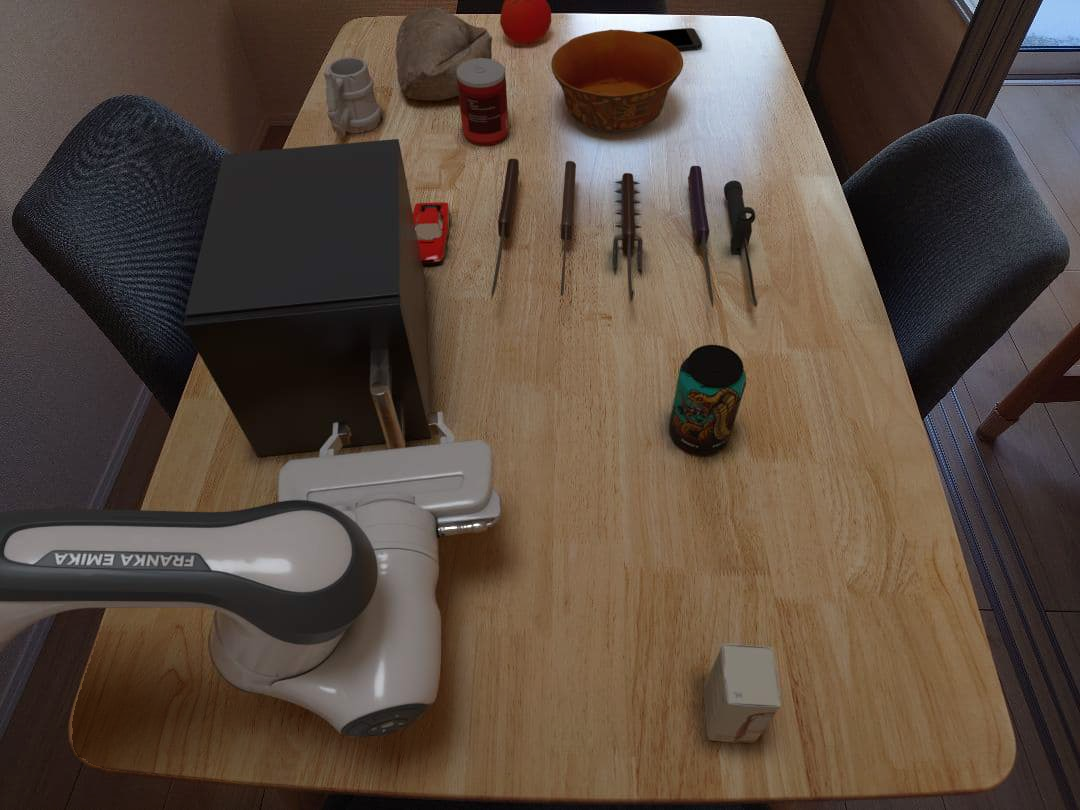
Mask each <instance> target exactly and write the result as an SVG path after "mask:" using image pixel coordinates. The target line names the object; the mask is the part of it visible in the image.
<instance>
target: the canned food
mask: <svg viewBox="0 0 1080 810" xmlns="http://www.w3.org/2000/svg"><path fill="white" fill-rule="evenodd" d="M456 72H457V85H458V94H459V95H458V102H459V109H460V118H461V125H462V127H461V128H462V132H463V133H462V134H463V135H464V137H465V139H466V140H467V141H468V142H469V143H471V144H473V145H476V146H482V147H483V146H484V147H489V146H494V145H497V144H500V143H501V142H503V141H504V140H505V139H506V138H507V136H508V133H509V110H508V97H507V96H508V92H507V77H506V70H505V66H504V65H503V63H501V62H500V61H498V60H495V59H487V58H476V59H471V60H468V61H466V62H463V63H462V64H461V65H460V66H459V67H458V68H457V71H456Z"/></svg>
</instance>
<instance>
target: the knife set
mask: <svg viewBox="0 0 1080 810" xmlns="http://www.w3.org/2000/svg"><path fill="white" fill-rule="evenodd" d="M564 166H565V167H564V179H563V180H564V181H563V194H562V206H561V220H560V239H561V240H562V241H564V242H563V255H562V266H561V280H560V281H561V282H560V283H561V284H560V296H561V297H563V296H564V289H565V288H564V287H565V274H566V260H567V258H566V257H567V243H568V241H571V240H572V238H573V226H574V225H573V224H574V208H575V192H576V191H575V190H576V176H577V175H576V174H577V173H576V172H577V164H576V162H574V161H572V160H566V162H565V165H564ZM702 172H703V171H702V167H701V166H700V165H691V166H690V167H689V173H688V176H687V185H688V195H689V206H690V208H689V209H690V218H691V226H692V232H693V239H694V244H695V246H698V247H699V248H700V252H702V258H703V266H704V272H705V278H706V286H707V290H708V291H707V292H708V296H709V301H710V304H711V307H712V308H713V307H714V295H713V286H712V278H711V272H710V271H711V270H710V263H709V257H708V248H707V244H708V239H709V235H710V226H709V220H708V216H707V210H706V209H707V208H706V201H705V193H704V182H703V181H704V180H703V173H702ZM519 176H520V163H519V159H517V158H508V160H507V165H506V172H505V179H504V185H503V191H502V199H501V205H500V210H499V213H498V219H497V228H498V229H497V230H498V231H497V233H498V237H500V238H499V246H498V252H497V258H496V263H495V271H494V275H493V281H492V288H491V297H490V301H491V300H492V299H493V297H494V295H495V292H496V289H497V283H498V279H499V278H498V277H499V273H500V267H501V261H502V256H503V249H504V243H505V239H508V238H510V236H511V232H512V228H513V227H512V226H513V221H514V214H515V207H516V198H517V191H518V183H519ZM614 183H615V184H619V185H621V188H620V190H616V191H614V193H617V194H621V199H620V200H619V199H618V200H614V201H613V202H615V203H618V204H620V205H621V211H618V212H614V214H615V215H619V216H621V224H616V225H615V227H616V228H619V229H621V235H616V236H615V237H614V238H613V241H612V242H613V243H612V244H613V245H612V268H613V269H614V270H616V269H617V267H618V246H619V241H621V249H622V251H623V252H626V257H627V285H628V287H627V288H628V294H629V297H628V298H629V301H630V303H632V302H633V299H634V295H635V291H634V290H633V285H632V282H633V281H632V259H631V258H632V257H631V253H632V252H633V251H634V248H635V242H637V252H636V253H637V254H636V255H637V269H638V270H639V271H642V270H643V238H642V237H641V236H637V235H636V229H640V228H642V226H639V225H636V223H635V222H636V221H635V219H636V218H635V217H636V216H641V215H643V214H642V213H639V212H635V205H637V204H641V203H642V202H641V201H637V200H635V195H638V194H641V192H640V191H636V190H635V188H634V187H635V185H640V184H641V182H639V181H634V174H633V173H631V172H625V173H623V174H622V176H621V180H617V181H614ZM723 195H724V198H725V200H726V205H727V210H728V211H727V212H728V217H729V223H730V228H731V238H730V253H731V254H732V255H733V254H734V255H735V254H736V255H740V256H741V261H742V266H743V271H744V279H745V285H746V291H747V297H748V300H749V304H750V305H751V306H753V307H754V308H757V307H758V301H757V297H756V291H755V285H754V277H753V270H752V265H751V259H750V254H749V248H748V247H749V244H750V240H751V236H752V232H753V226H752V224H753V223H754V222H755V221H756V212H755V210H754V208H753V207H750V206H745V203H744V197H743V196H744V191H743V186H742V183H741V182H740V181H739V180H734V179H733V180H730V181H727V182H726V183H725V184H724V186H723ZM747 214H750V216H749V217H747Z"/></svg>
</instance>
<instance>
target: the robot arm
mask: <svg viewBox="0 0 1080 810" xmlns="http://www.w3.org/2000/svg"><path fill="white" fill-rule="evenodd" d="M444 416H445V415H444V412H443V411H442V410H441V411H432V412H431V411H430V413H428V418H429V419H428V426H429V429H430V434H431V436H439V437H440V443H436V444H435V443H434V444H427V445H425V444H424V445H417V446H416V445H415V446H409V447H405V448H398V449H380V450H372V451H363V452H353V453H344V454H343V453H342V454H339V452H340V451H341V450H342V449H343V447H342V446H343V445H347V444H351V437H350V436H351V434H352V432H351V427H350V426H349V422H337V423H333V433H332V436H330V438H329V439H328V440H327V441H326V443H325V444H324V445H323V446H322V448H321V449H320V450H319V453H318V454H319V455H318V456H316V457H315V456H314V457H308V458H297V459H289V460H288V461H287V462H286V463H284V464H283V466H282V467H281V468H280V469H279V472H278V477H277V499H278V501H277V502H276V501H275V502H272V503H268V504H263V505H259V506H254V507H250V508H245V509H239V510H238V509H237V510H230V511H179V510H177V511H176V510H148V509H147V510H144V509H143V510H142V509H109V508H107V509H106V508H60V507H59V508H57V507H56V508H51V507H50V508H25V509H13V510H5V511H4V510H3V511H0V653H1V652H3V651H4V650H5V649H6V648H7V647H8V646H9V645H10V644H11V643H12V642H13V641H14V639H16V637H17V636H19V635H20V634H21V633H22V632H24V631H25V630H27V628H29V627H31V626H33V625H34V624H36V623H37V622H40V621H42V620H44V619H46V618H48V617H51V616H54V615H58V614H60V613H65V612H68V611H74V610H81V609H207V610H212V611H214V613H213V616H212V621H211V625H210V628H209V633H208V639H207V640H208V652H209V656H210V659H211V662H212V665H213V666H214V668H215V670H216V671H217V672H218V674H219V675H220V676H221V677H222V679H223V680H225V682H226V683H227V684H229V685H230V686H232V687H234V688H235V689H237V690H239V691H242V692H244V693H247V694H251V695H258V696H268V697H273V698H276V699H280V700H283V701H285V702H289V703H292V704H294V705H296V706H298V707H301V708H303V709H306V710H308V711H310V712H312V713H314V714H316V715H317V716H319V717H321V718H322V719H324V720H325V721H326V722H327V723H329V724H330V725H331V727H333V728H334V729H335V730H336V731H337V732H338V733H339V734H340V735H343V736H345V737H351V738H358V739H367V738H375V737H380V736H385V735H388V734H392V733H395V732H398V731H400V730H402V729H404V728H408V727H410V726H412V725H413V724H414V723H416V722H418V721H419V720H420V719H421V718H422V717H423V716H424V715H425V714H426V713H427V712H428V711H429V710H431V707H432V706H433V705H434V704H435V702H436V699H437V696H438V691H439V686H440V678H441V665H442V664H441V663H442V616H441V610H440V608H439V606H438V601H437V597H436V590H437V585H438V581H439V577H440V561H439V560H440V558H439V557H440V556H439V554H440V553H439V539H440V538H445V537H455V536H459V535H464V534H470V533H472V534H479V533H480V534H481V533H485V532H487V531H488V528H490V527H492V526H494V525H496V524H497V523H498V522H499V520H501V517H502V513H503V508H502V498H501V495H500V493H499V492H498V491H497V490H496V489H495V462H494V453H493V448H492V446H491V445H490V444H489V443H488V442H487V441H485V440H484V439H472V440H463V441H456V437H455V434H454V433H453V432H452V431H451V430H450V429H449V427H448V425H446V424H445V417H444Z"/></svg>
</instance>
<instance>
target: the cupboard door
mask: <svg viewBox="0 0 1080 810" xmlns="http://www.w3.org/2000/svg"><path fill="white" fill-rule="evenodd" d="M183 328H184V329H185V331H186V333H187V335H188V337H189V339H190V341H191V342H192V343H193V346H194V347H195V349H196V351H197V353H198V354H199V356H200V358H201V360H202V362H203V363H204V365H205V366H206V368H207V370H208V372H209V374H210V376H211V377H212V379H213V381H214V382H215V385H216V386H217V388H218V390H219V392H220V393H221V395H222V397H223V399H224V401H225V402H226V404H227V405H228V407H229V409H230V411H231V413H232V415H233V417H234V418H235V420H236V422H237V423H238V425H239V427H240V429H241V431H242V432H243V435H244V436H245V438H246V439H247V442H248V443H249V445H250V446H251V448H252V450H253V451H254V453H255V455H256V457H257V458H259V457H267V456H276V455H284V454H285V455H286V454H295V453H303V452H313V451H320V449H321V448H322V446H323V445H324V444H325V443H326V441H327V440H328V439H329V438H330V436H332V433H333V423H337V422H349V426H350V427H351V432H352V434H351V436H350V437H351V444H347V445H343V446H342V448H349V447H359V446H367V445H368V446H369V445H375V444H377V445H379V444H385V443H386V446H387V450H389V449H398V448H406V441H413V440H424V439H431V438H432V435H431V434H430V429H429V426H428V417H427V413H426V408H425V404H424V400H423V395H422V391H421V387H420V382H419V378H418V374H417V370H416V365H415V361H414V357H413V352H412V348H411V344H410V339H409V335H408V331H407V326H406V322H405V318H404V313H403V309H402V305H401V300H400V297H392V298H382V299H372V300H362V301H352V302H342V303H332V304H322V305H312V306H302V307H292V308H282V309H271V310H261V311H251V312H241V313H231V314H221V315H211V316H201V317H191V318H186V317H184V319H183Z"/></svg>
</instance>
